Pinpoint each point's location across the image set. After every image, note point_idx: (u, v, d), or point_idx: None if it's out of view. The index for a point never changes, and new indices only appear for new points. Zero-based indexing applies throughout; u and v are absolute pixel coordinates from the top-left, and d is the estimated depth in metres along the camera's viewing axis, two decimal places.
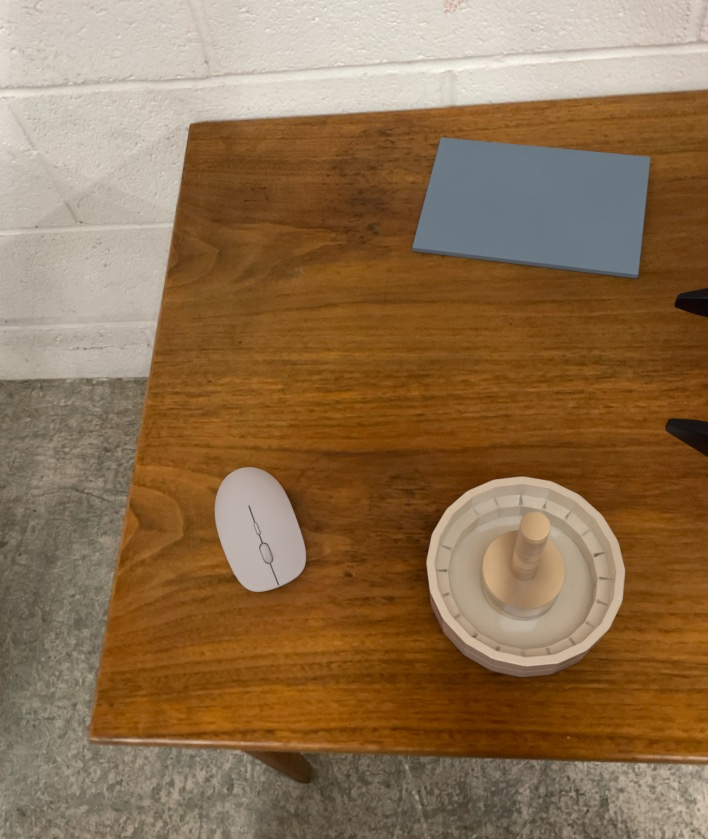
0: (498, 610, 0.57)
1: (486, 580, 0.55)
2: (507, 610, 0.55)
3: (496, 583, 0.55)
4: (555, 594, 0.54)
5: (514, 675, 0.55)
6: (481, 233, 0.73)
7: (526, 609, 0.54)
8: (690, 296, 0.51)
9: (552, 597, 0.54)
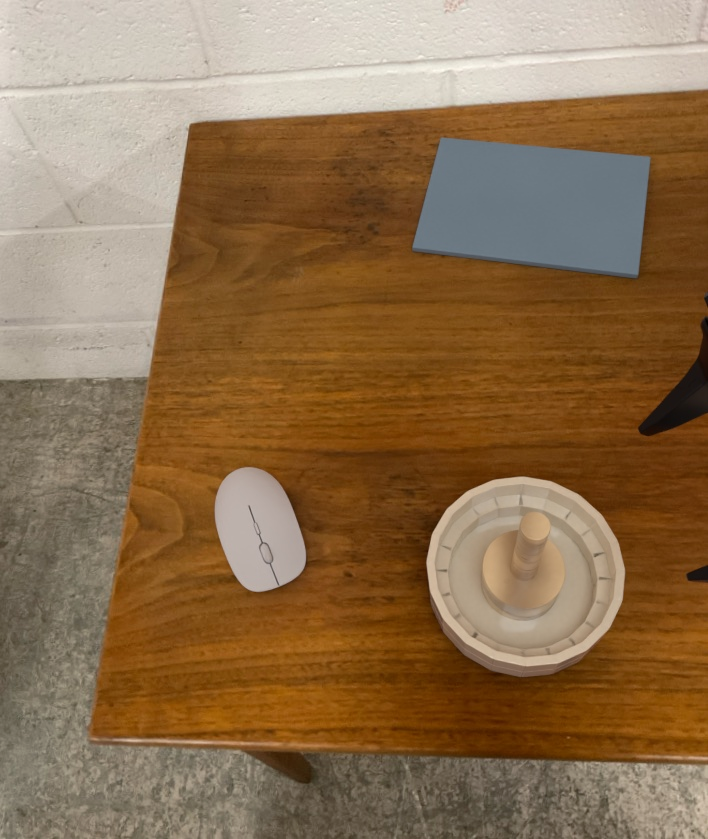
0: (498, 610, 0.57)
1: (486, 580, 0.55)
2: (507, 610, 0.55)
3: (496, 583, 0.55)
4: (555, 594, 0.54)
5: (514, 675, 0.55)
6: (481, 233, 0.73)
7: (526, 609, 0.54)
8: (647, 425, 0.48)
9: (552, 597, 0.54)
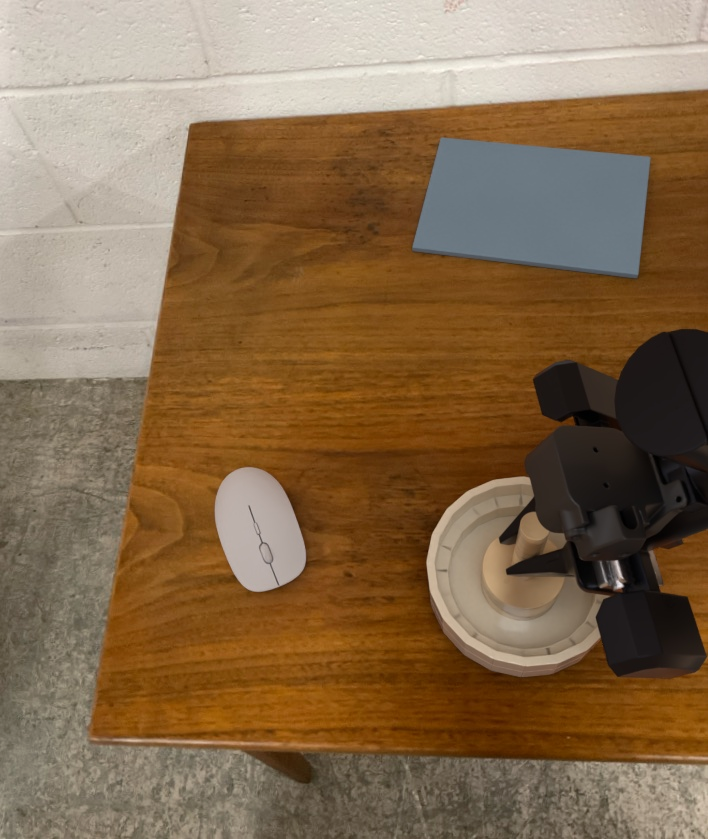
0: (498, 610, 0.57)
1: (486, 580, 0.55)
2: (507, 610, 0.55)
3: (496, 583, 0.55)
4: (555, 594, 0.54)
5: (514, 675, 0.55)
6: (481, 233, 0.73)
7: (526, 609, 0.54)
8: (505, 537, 0.52)
9: (552, 597, 0.54)
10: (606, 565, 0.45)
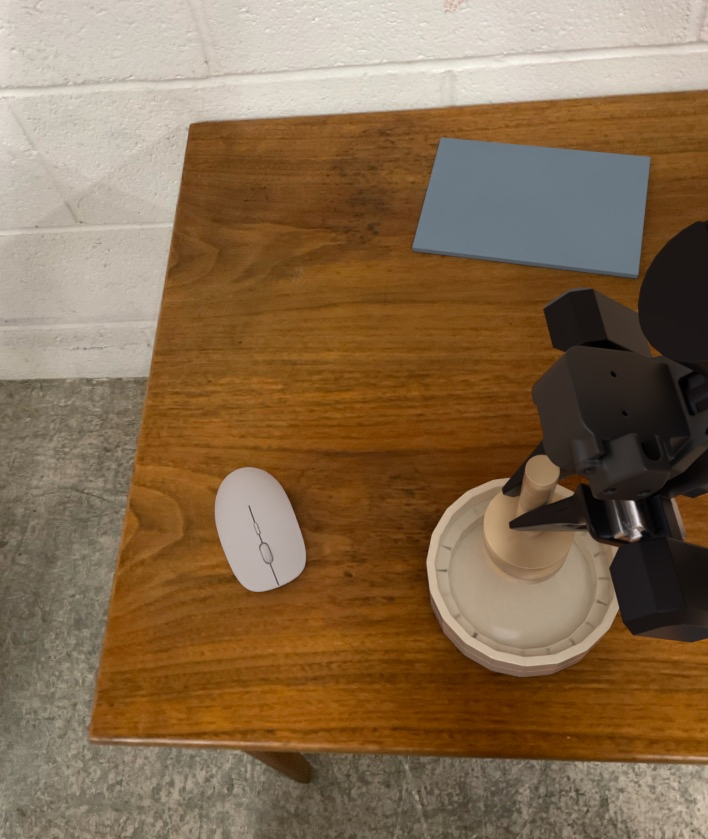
0: (500, 572, 0.51)
1: (487, 537, 0.50)
2: (510, 571, 0.50)
3: (498, 541, 0.50)
4: (563, 554, 0.49)
5: (514, 675, 0.55)
6: (481, 233, 0.73)
7: (530, 569, 0.49)
8: (509, 487, 0.47)
9: (560, 557, 0.49)
10: (622, 513, 0.40)
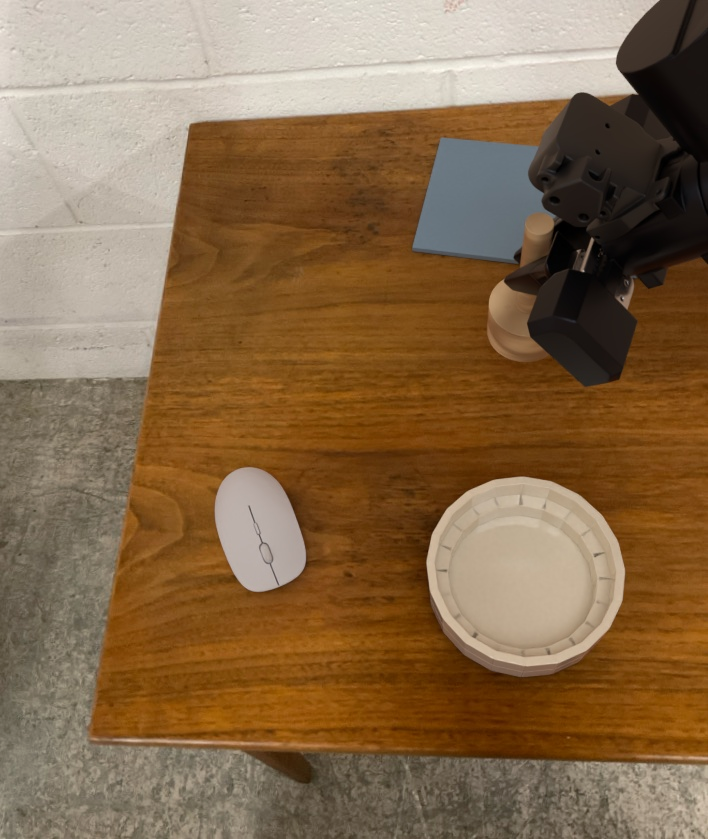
0: (491, 339, 0.60)
1: (490, 299, 0.58)
2: (496, 335, 0.58)
3: (497, 304, 0.58)
4: None
5: (514, 675, 0.55)
6: (481, 233, 0.73)
7: (510, 334, 0.57)
8: (519, 251, 0.55)
9: None
10: (579, 266, 0.47)
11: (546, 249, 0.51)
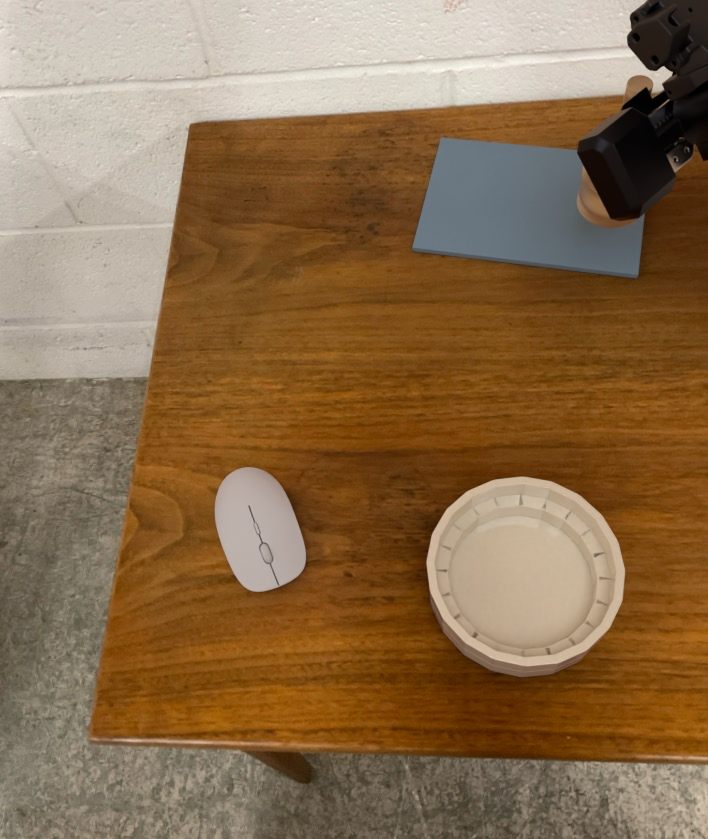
0: (577, 196, 0.67)
1: None
2: (581, 191, 0.66)
3: None
4: None
5: (514, 675, 0.55)
6: (481, 233, 0.73)
7: (590, 189, 0.64)
8: None
9: None
10: None
11: None
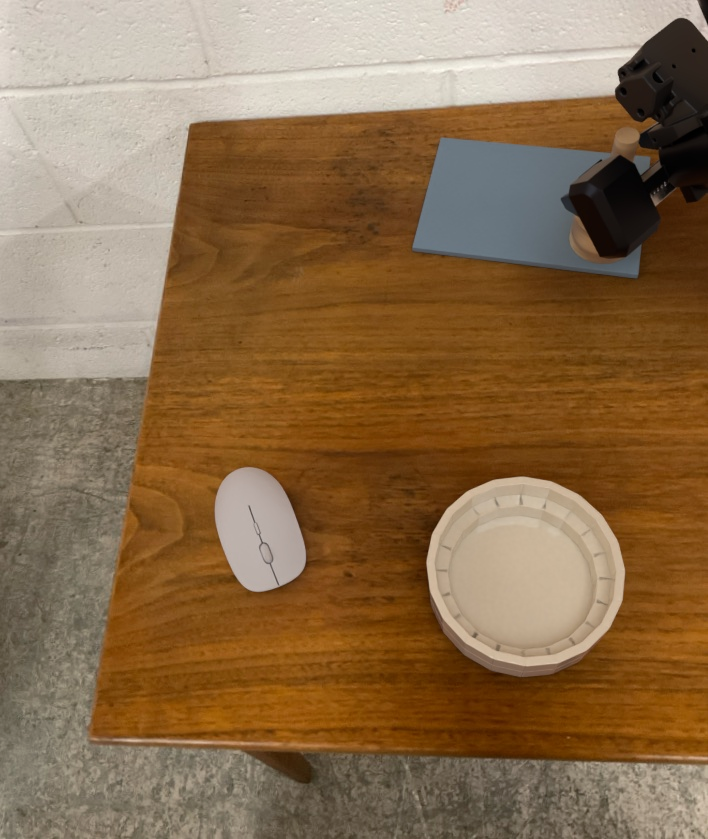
0: (570, 233, 0.71)
1: None
2: (573, 229, 0.70)
3: None
4: None
5: (514, 675, 0.55)
6: (481, 233, 0.73)
7: (582, 229, 0.68)
8: (642, 132, 0.66)
9: None
10: None
11: None
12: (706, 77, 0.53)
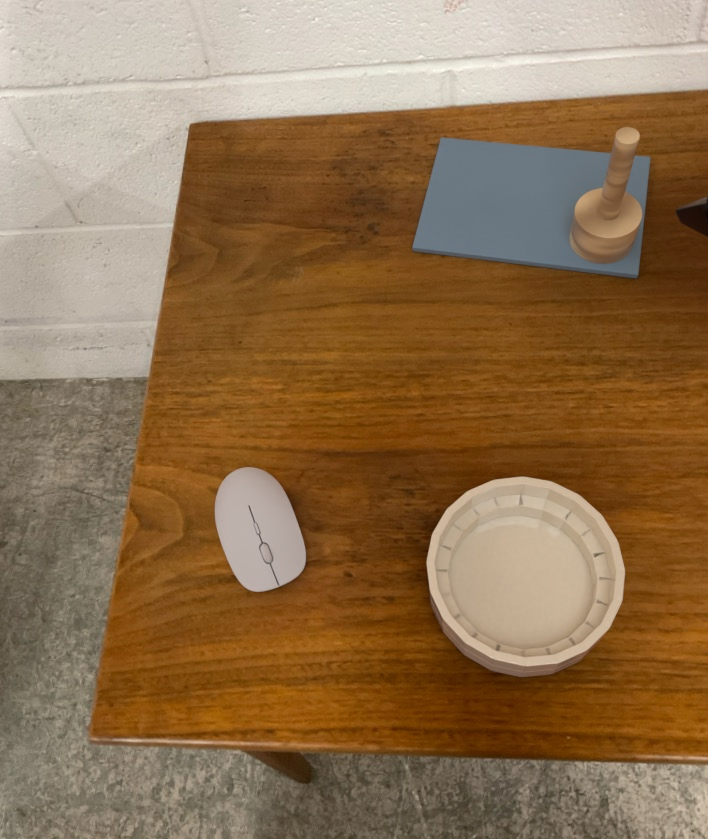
0: (570, 233, 0.71)
1: (580, 198, 0.69)
2: (573, 229, 0.70)
3: (583, 204, 0.69)
4: (607, 236, 0.67)
5: (514, 675, 0.55)
6: (481, 233, 0.73)
7: (582, 229, 0.68)
8: None
9: (603, 236, 0.67)
10: None
11: (627, 160, 0.62)
12: None
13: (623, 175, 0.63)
